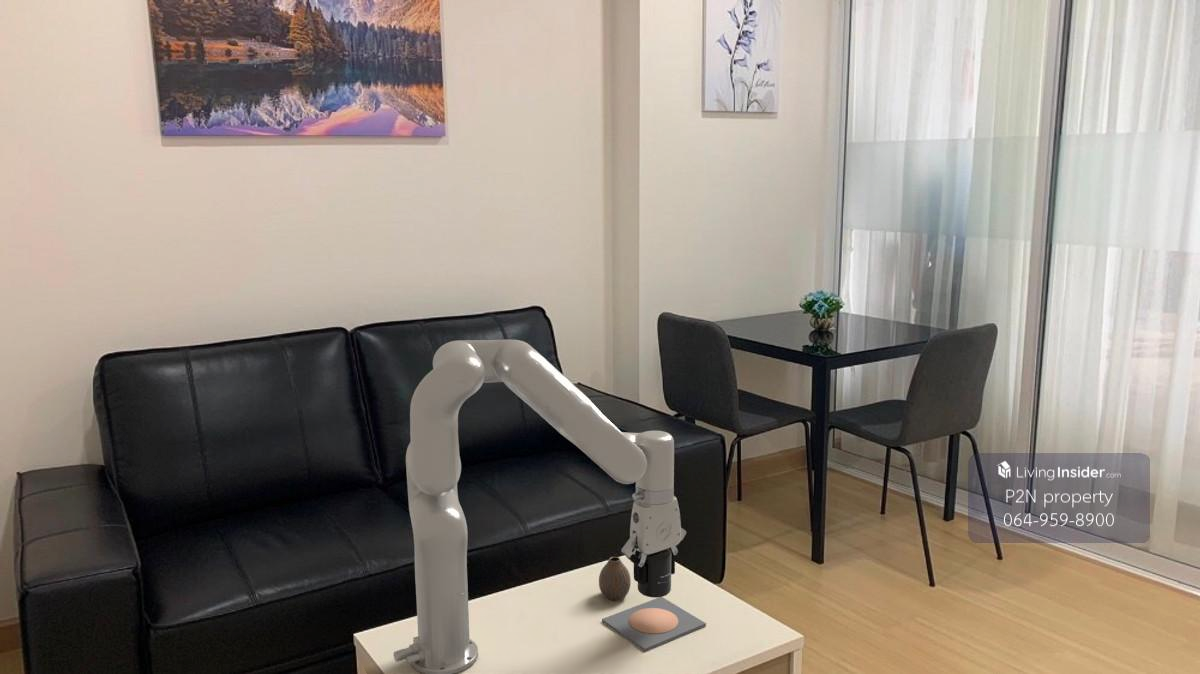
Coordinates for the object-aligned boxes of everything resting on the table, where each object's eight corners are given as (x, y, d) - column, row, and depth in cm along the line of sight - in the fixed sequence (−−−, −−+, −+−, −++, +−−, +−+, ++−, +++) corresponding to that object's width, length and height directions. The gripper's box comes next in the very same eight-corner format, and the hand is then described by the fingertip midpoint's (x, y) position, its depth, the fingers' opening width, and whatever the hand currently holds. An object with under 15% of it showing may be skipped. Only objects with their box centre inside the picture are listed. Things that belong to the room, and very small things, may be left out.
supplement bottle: (669, 600, 169) (669, 543, 167) (635, 597, 171) (634, 541, 168) (673, 584, 176) (673, 529, 174) (640, 581, 177) (640, 527, 175)
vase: (594, 601, 184) (594, 563, 182) (604, 587, 190) (603, 550, 189) (625, 606, 182) (625, 567, 180) (634, 591, 188) (634, 554, 187)
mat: (644, 651, 164) (644, 647, 164) (601, 621, 176) (601, 618, 175) (705, 625, 174) (706, 622, 174) (661, 599, 185) (661, 595, 185)
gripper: (632, 509, 161) (632, 596, 165) (700, 489, 171) (698, 571, 175) (608, 497, 167) (609, 582, 171) (675, 478, 177) (674, 558, 181)
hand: (654, 576), depth 173 cm, fingers closed on supplement bottle, 6 cm apart
